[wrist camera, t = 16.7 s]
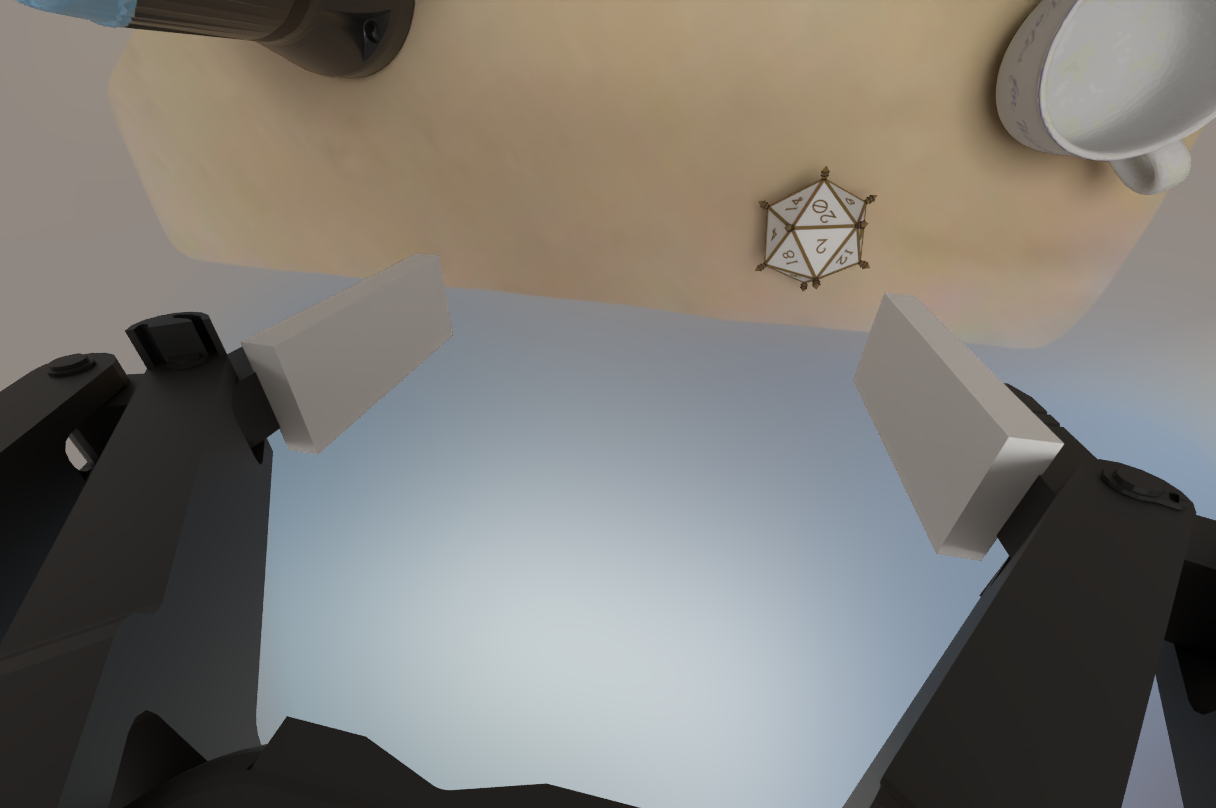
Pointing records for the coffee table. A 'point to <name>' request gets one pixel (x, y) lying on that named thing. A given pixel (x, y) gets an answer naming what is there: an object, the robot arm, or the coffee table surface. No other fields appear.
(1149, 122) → the teacup
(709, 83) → the coffee table surface
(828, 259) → the game die
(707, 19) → the coffee table surface
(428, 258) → the robot arm
